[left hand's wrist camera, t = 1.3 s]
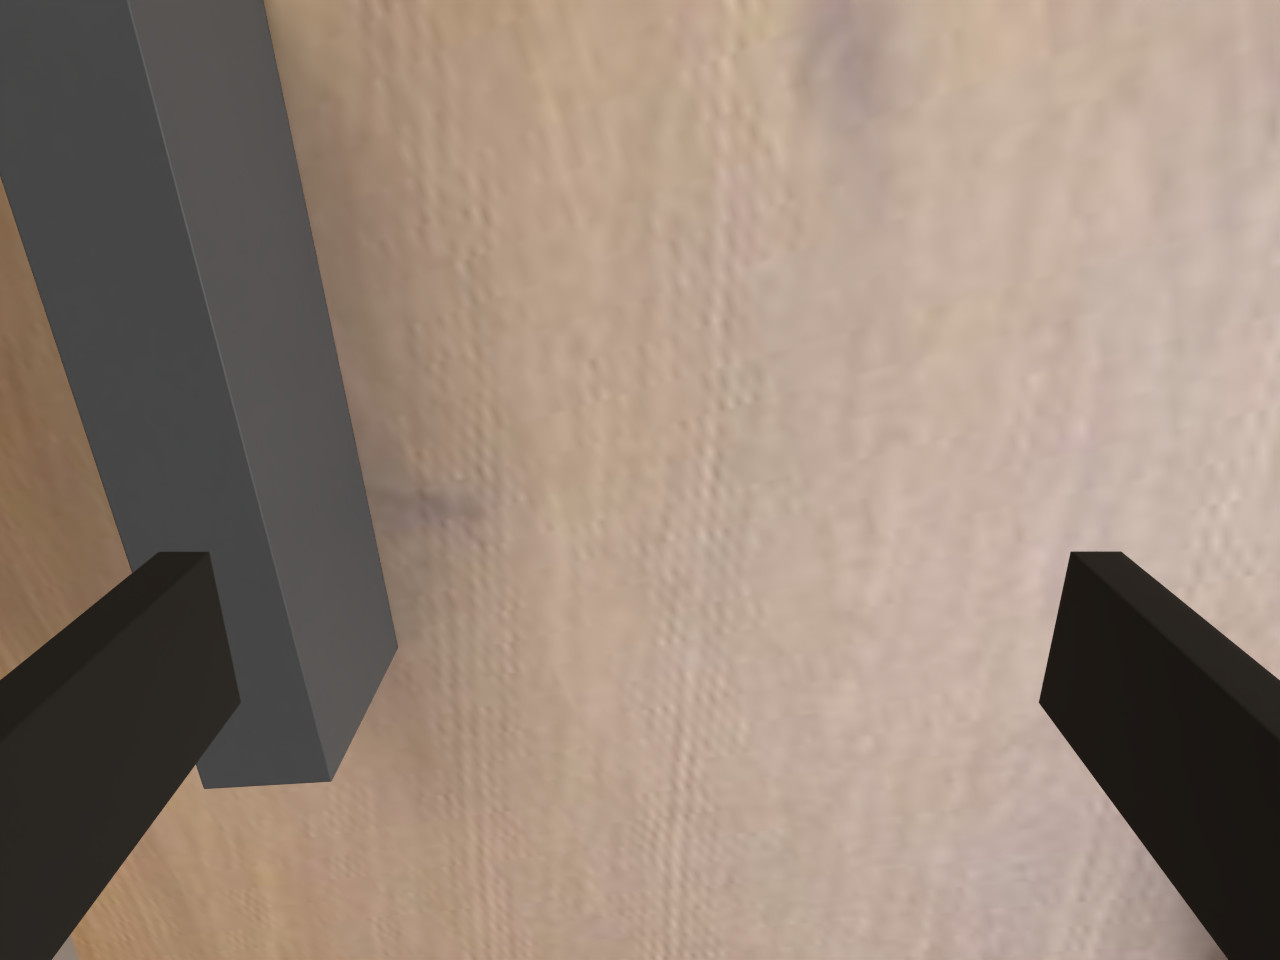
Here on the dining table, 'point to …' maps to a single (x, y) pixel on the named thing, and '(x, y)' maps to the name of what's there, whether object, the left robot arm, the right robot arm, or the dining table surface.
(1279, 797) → the left robot arm
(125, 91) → the bar
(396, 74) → the dining table surface
